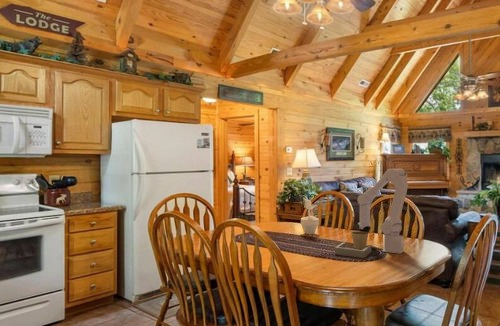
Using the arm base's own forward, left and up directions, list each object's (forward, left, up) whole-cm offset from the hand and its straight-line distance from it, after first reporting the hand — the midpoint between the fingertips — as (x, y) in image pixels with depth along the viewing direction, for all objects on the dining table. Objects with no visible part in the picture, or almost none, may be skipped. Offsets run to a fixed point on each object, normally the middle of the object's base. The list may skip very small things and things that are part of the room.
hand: (364, 239), depth 215 cm
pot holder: (0, +21, -3) cm, 21 cm away
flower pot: (0, +10, -3) cm, 10 cm away
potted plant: (+39, -13, -3) cm, 41 cm away
